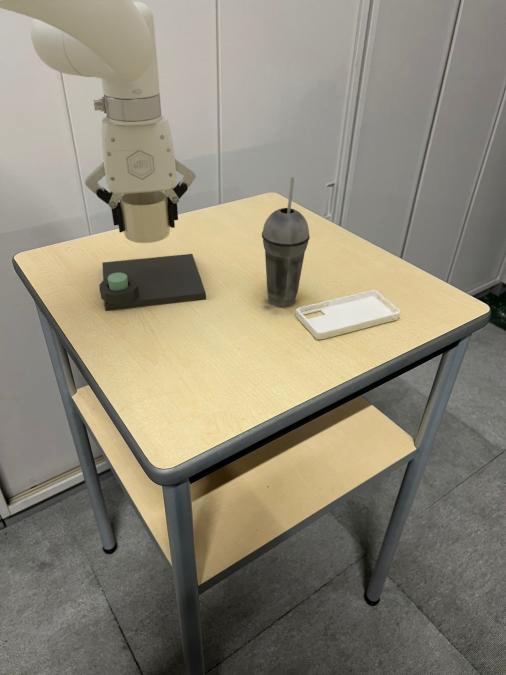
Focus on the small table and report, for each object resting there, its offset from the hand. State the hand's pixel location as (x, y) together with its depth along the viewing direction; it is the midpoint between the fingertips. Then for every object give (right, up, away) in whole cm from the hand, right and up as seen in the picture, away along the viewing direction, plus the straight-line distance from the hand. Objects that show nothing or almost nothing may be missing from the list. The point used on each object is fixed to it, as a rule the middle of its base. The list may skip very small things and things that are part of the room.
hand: (146, 225), depth 82 cm
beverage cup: (+22, -12, +3) cm, 25 cm away
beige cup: (0, -1, +1) cm, 1 cm away
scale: (0, -8, +6) cm, 10 cm away
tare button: (-4, -10, 0) cm, 11 cm away
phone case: (+32, -15, -1) cm, 35 cm away
